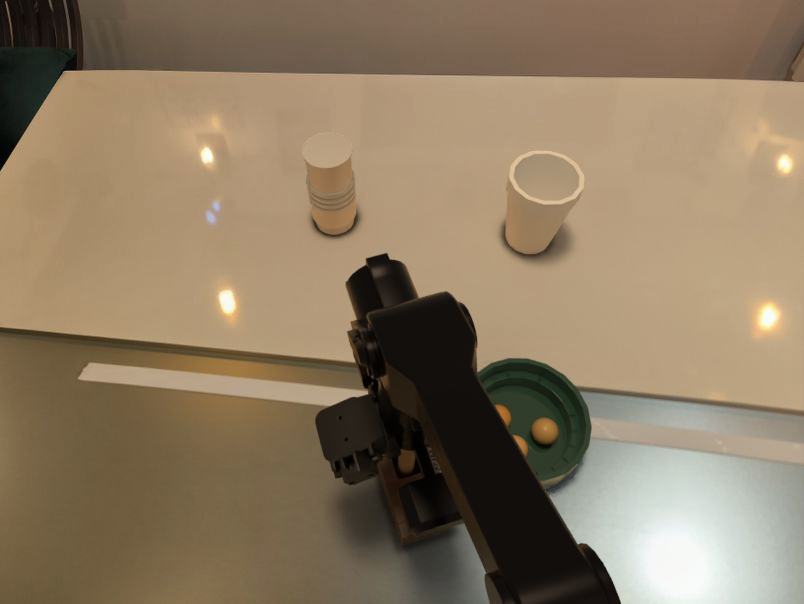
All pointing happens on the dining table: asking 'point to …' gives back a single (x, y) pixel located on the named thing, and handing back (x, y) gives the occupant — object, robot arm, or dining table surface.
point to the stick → (406, 463)
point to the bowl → (541, 413)
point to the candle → (330, 181)
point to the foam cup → (540, 198)
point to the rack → (390, 488)
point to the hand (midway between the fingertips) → (407, 450)
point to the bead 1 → (504, 414)
